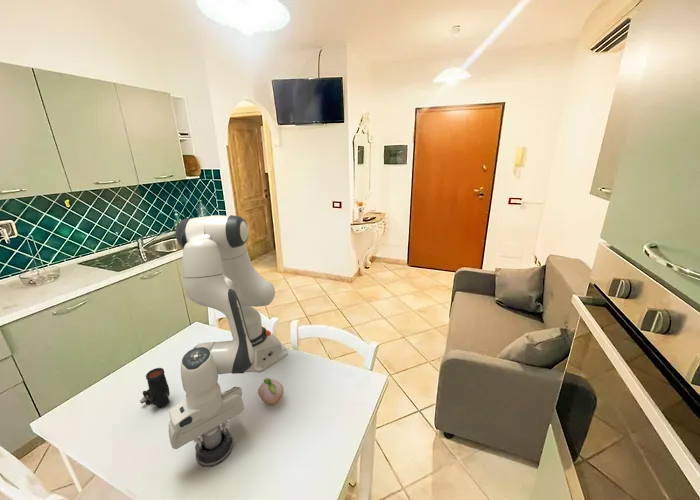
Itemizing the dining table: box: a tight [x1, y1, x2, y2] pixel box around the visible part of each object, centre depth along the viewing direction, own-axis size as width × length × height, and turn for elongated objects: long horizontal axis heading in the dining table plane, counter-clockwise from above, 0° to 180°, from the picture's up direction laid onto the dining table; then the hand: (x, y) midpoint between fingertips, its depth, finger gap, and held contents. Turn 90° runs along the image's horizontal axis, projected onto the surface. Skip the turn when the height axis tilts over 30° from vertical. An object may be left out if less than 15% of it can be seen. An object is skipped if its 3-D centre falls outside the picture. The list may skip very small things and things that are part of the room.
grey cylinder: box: [202, 425, 223, 451], centre depth 89 cm, size 5×5×6 cm
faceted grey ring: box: [194, 427, 234, 468], centre depth 90 cm, size 10×10×4 cm
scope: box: [139, 367, 171, 410], centre depth 106 cm, size 8×14×10 cm
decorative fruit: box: [257, 377, 285, 406], centre depth 106 cm, size 9×8×10 cm
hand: (212, 437), depth 89 cm, fingers closed on grey cylinder, 5 cm apart
